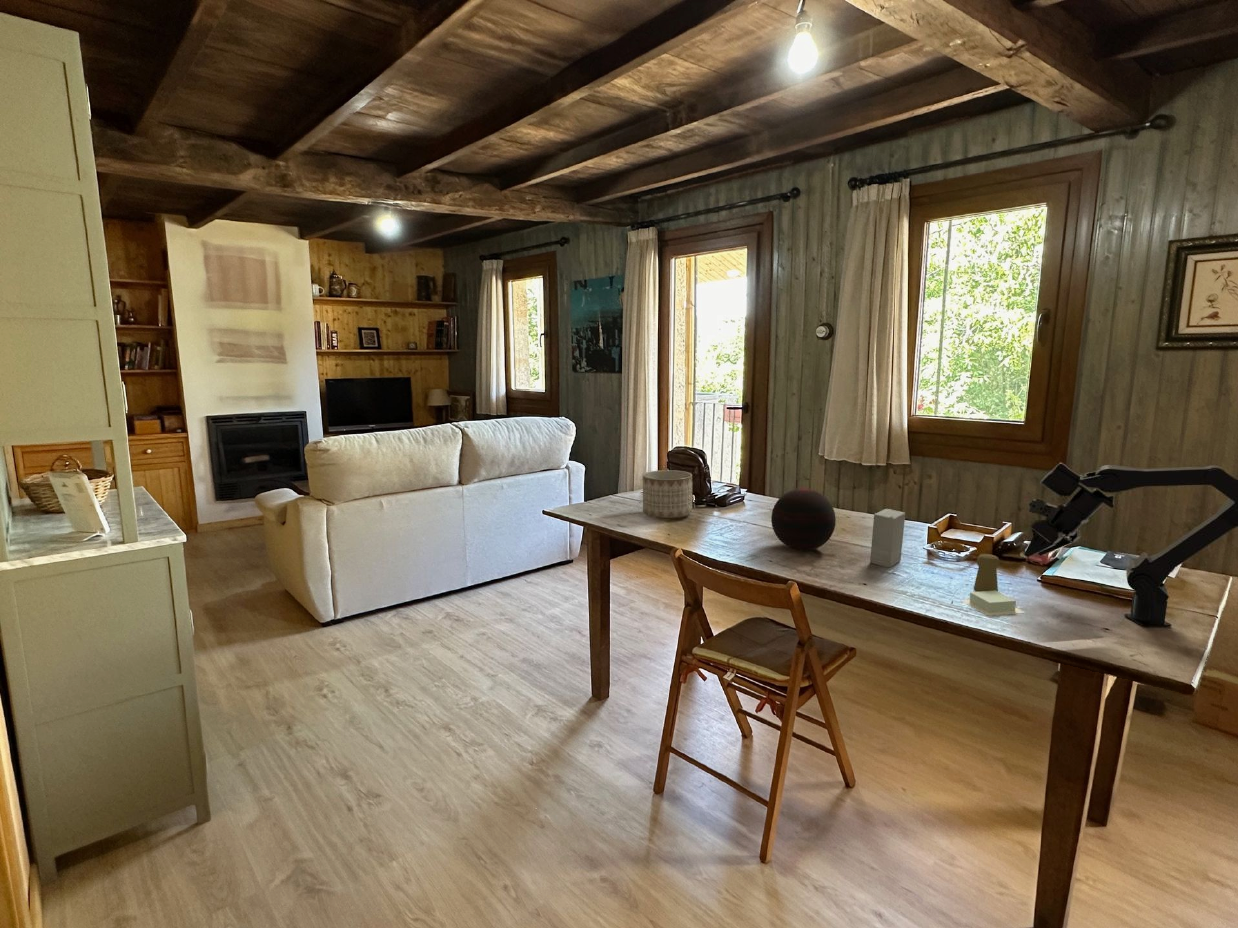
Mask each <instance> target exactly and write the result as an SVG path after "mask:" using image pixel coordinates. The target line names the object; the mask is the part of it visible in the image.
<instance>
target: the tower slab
mask: <svg viewBox="0 0 1238 928" xmlns="http://www.w3.org/2000/svg"><path fill="white" fill-rule="evenodd" d="M960 601H961V602H963V603H965V604H966V605H967V606H968V607H969V606H970V607H972V608H973V609H975V610H977V611H978V612H979V613H982V614H983V615H985V616H1001V615H1002V616H1003V615H1014V614H1025V613H1026V612H1025V611H1023V610H1022V609H1019V608H1017V607H1015V611H1003V612H990V613H988V612H987V611H985V610H983V609H981V608H980V607H978V606H976V605H974V604H973V603H971V602H970V598H968V599H960Z"/></svg>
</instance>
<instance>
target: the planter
mask: <svg viewBox="0 0 1238 928" xmlns="http://www.w3.org/2000/svg"><path fill="white" fill-rule="evenodd" d="M642 512H643V514H645V515H646V516H649V517H652V518H657V519H660V520H661V519H662V520H673V519H678V518H682V517H683V518H684V517H687V516H689V515H691V513H693V474H692V472H688V471H684V470H675V469H674V470H672V469H670V470H669V469H668V470H667V469H665V470H664V469H663V470H662V469H660V470H652V471H651V470H650V471H647V472H644V473H642Z"/></svg>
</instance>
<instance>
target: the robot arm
mask: <svg viewBox="0 0 1238 928" xmlns="http://www.w3.org/2000/svg"><path fill="white" fill-rule="evenodd" d="M1039 484H1040V485H1042V486H1043V487H1045V488H1047V489H1048V490H1049V491H1050V492H1052V493H1054V494H1055V495H1057V496H1059V497H1060V498H1062V497H1063V496H1064V497H1070V496H1072V495H1073V493H1074V495H1073V496H1072V497H1070V498H1069V500H1067V502H1065V504H1059V505H1058V506H1057V505H1055V504H1053V503H1049V502H1048V501H1047V500H1045V499H1042V498H1036V499H1032V500H1031V502H1030V503H1029V504H1028V505H1029V508H1028V512H1029V513H1031V514H1037V515H1040V516H1042V517H1045V519H1042V520H1041V519H1039V520H1038V519H1037V520H1035V521H1034V522H1033V523H1032V524H1030V527H1031V528H1030V530H1031V532H1032V538H1031V540H1030V542H1029V544H1028V546H1027V548H1026V549H1025V552H1024V553H1023V555H1024V556H1025V557H1026V558H1030V557H1032V556H1034V555H1036V554H1037V555H1038V556H1044V555H1046V554H1048V553H1051V552H1054V551H1056V550H1058V549H1061V548H1064V547H1066V546H1069V545H1071V544H1074V543H1076V542H1077V541H1078V540H1079V539H1081V537H1082V531H1081V530H1080V529H1079V528H1080V527H1081V526H1082V525H1083V524H1087V523H1089V521H1090V519H1089V518H1090V517H1092V516H1093V514H1095V512H1097V511H1098V510H1099V508H1101V506H1103V505H1106V506H1107V507H1109V508H1111V509H1112V508H1113V509H1114V507H1115V504H1114V498H1115V497H1114V494H1111V493H1118V492H1125V491H1126V492H1127V491H1129V490H1130V491H1131V490H1134V489H1139V488H1144V487H1169V486H1170V487H1173V486H1175V487H1176V486H1178V487H1179V486H1212V487H1213V488H1215V489H1216V490H1218V491H1219V492H1220V493H1221V494H1223V495H1224V496H1226V497H1227V499H1226V500H1225V501H1224V503H1222V505H1221V506H1220V508H1219V509H1218V510H1217V512H1215V514H1213V515H1211V516H1210V517H1209V518H1207V519H1206V520H1204V521H1202V523H1200V524H1199V525H1197V526H1195V528H1193V529H1191V530H1190V531H1188V532H1187V533H1186V534H1184V535H1183V536H1182V537H1180V538H1179V539H1177V540H1176V541H1174V542H1173V543H1171V544H1170V545H1169V546H1167V547H1165V548H1164V549H1163V550H1161V551H1159V552H1158V553H1155V554H1152V555H1149V554H1148V553H1147V552H1146V551H1143V552H1142V553H1140V555H1139V556H1138V557H1136V558H1135V559H1132V560H1129V562H1128V563H1129V565H1128V566H1127V568H1126V571H1125V572H1126V582H1127V585H1128V586H1129V588H1130V589H1131V590H1134V592H1133V595H1132V599H1131V607H1130V613H1124V617H1125V618H1128V619H1129V620H1131V621H1133V622H1135V623H1137V624H1138V625H1140V626H1142V627H1156V628H1157V627H1172V623H1170V622H1169V621H1166V616H1167V615H1166V614H1167V608H1168V599H1169V598H1170V597H1169V592H1168V589H1167V586H1166V584H1165V583H1164V582H1165V580H1166V579H1167V578H1168V577H1169V575H1170V574H1171V573H1172V571H1174V569H1176V568H1178V566H1180V565H1181V564H1183V563H1184V562H1186V561H1187V560H1189V559H1190V558H1192V557H1193V556H1195V555H1196V554H1198V553H1199V552H1200V551H1202V550H1204V549H1205V548H1206V547H1208V546H1210V545H1211V544H1212V543H1214V542H1215V541H1217V540H1218V539H1220V538H1221V537H1223V536H1224V535H1226V534H1227V533H1229V532H1230V531H1232V530H1234V529H1236V528H1238V478H1236V477H1235V476H1233V475H1232V474H1229V473H1228V472H1226V471H1225V470H1224V468H1223V467H1221V466H1219V465H1215V464H1214V465H1211V464H1210V465H1206V466H1188V467H1186V466H1185V467H1163V468H1162V467H1161V468H1159V467H1158V468H1157V467H1154V468H1139V467H1132V466H1125V465H1124V466H1123V465H1113V464H1105V465H1101V466H1100V467H1099V468H1097V470H1096V471H1092V472H1084V473H1080V474H1079V473H1077V472H1075V471H1074V470H1072V469H1071V468H1069V466H1067V465H1066V464H1065V463H1063V462H1062V461H1061V462H1059V463H1058V464H1057V465H1055V467H1054V468H1052V469H1051V470H1049V471H1048V473H1047V474H1046V475H1045V476H1044V477H1043V478H1042V479H1041V481H1040V482H1039ZM1078 488H1079V489H1078ZM1091 488H1092V489H1091ZM1077 489H1078V490H1077ZM1076 490H1077V491H1076ZM1075 491H1076V493H1075ZM1105 493H1108V494H1105ZM1109 493H1110V494H1109ZM1069 538H1071V539H1069Z"/></svg>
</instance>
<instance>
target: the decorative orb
mask: <svg viewBox="0 0 1238 928" xmlns="http://www.w3.org/2000/svg"><path fill="white" fill-rule="evenodd" d="M836 517H837V516H836V513H835V509H834V508H833V505H832V503H831V502H830V501H829V499H828V498H827V497H826V496H825V495H823V494H822V493H820V492H818V491H816V490H814V489H811V488H795V489H792V490H789V491H788V492H786V493H784V494H782V495H781V496H780V497H779V499H778V500H777V501H776V503H775V504H774V506H773V508H772V511H771V516H770V518H771V521H770V522H771V526H772V530H773V532H774V534H775V536H776V537H777V539H778V540H779V541H780V542H781V543H782V544H783V545H784V546H786V547H788V548H791V549H792V550H796V551H802V552H803V551H804V552H806V551H807V552H808V551H813V550H816V549H819V548H820V547H822V546H824V544H826V543H827V542H828V541H829V540H830V539H831V537H832V535H833V533H834V531H835V528H836V522H837V521H836Z"/></svg>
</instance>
